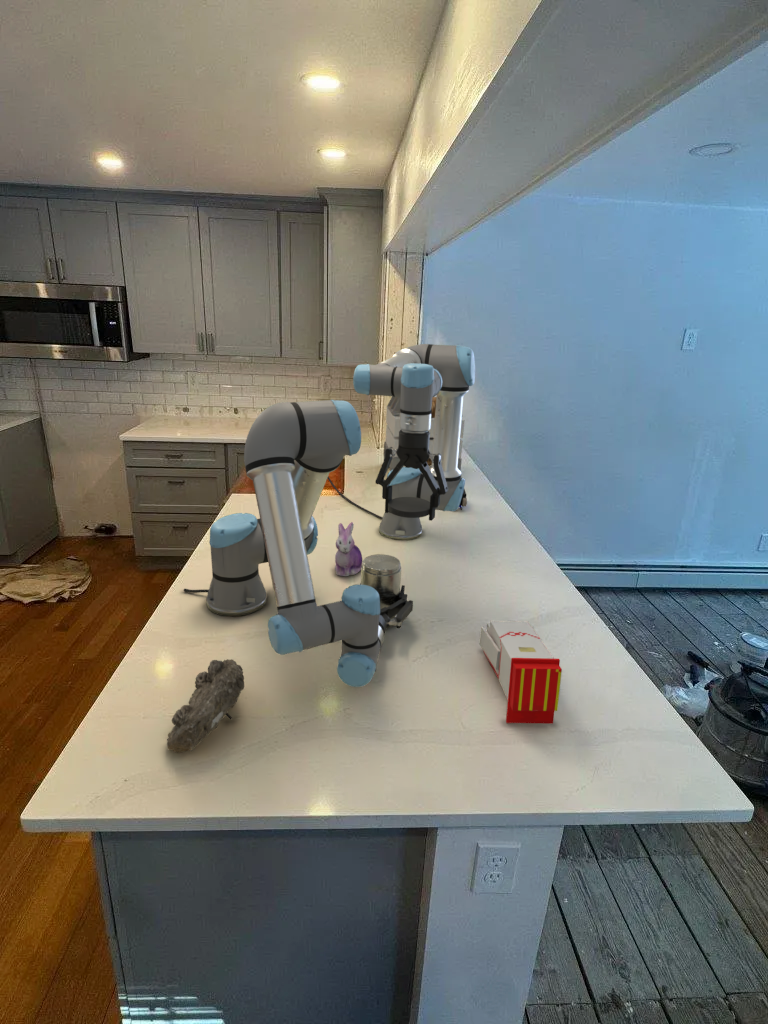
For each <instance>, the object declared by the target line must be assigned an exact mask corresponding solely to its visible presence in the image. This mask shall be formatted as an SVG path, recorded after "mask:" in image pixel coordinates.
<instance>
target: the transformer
mask: <svg viewBox="0 0 768 1024" xmlns="http://www.w3.org/2000/svg"><path fill="white" fill-rule="evenodd" d="M400 403H401V397H393V396H391V398H390V400H389V402H388V404H387V405H386V413H385V414H386V415H385V423H386V428H385V438H384V442H383V460H384V459H385V451H386V449H388V448H389V447H393V448H394V449H398V441H399V431H400V430H401V429H400V427H399V422H400ZM435 410H436V396H435V397H433V398H432V407H431V426H430V430H428V431H429V433H430V440H429V452H430V453H431V454H432V453H433V439H434V425H435ZM464 429H465V419H464V418H463V417H462V418H461V430H460V442H459V453H458V465H457V468H458V469H459V470H460V471H461V472H462V461H463V460H462V453H463V442H464V441H463V440H462V439H463V438H464V431H465V430H464ZM399 461H400V459H399V457H398V456H397V454H395V456H394V457H393V458H392V461H391V463H390V465H389V472H390V471H391V470H393V469H394V468H395V467H396V465H397V464H398V463H399ZM426 462H427V464H428V466H429V467H431V466H432V461H431V459H430V458H429V459H428V460H427V461H426ZM403 467H405V466H403Z"/></svg>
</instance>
